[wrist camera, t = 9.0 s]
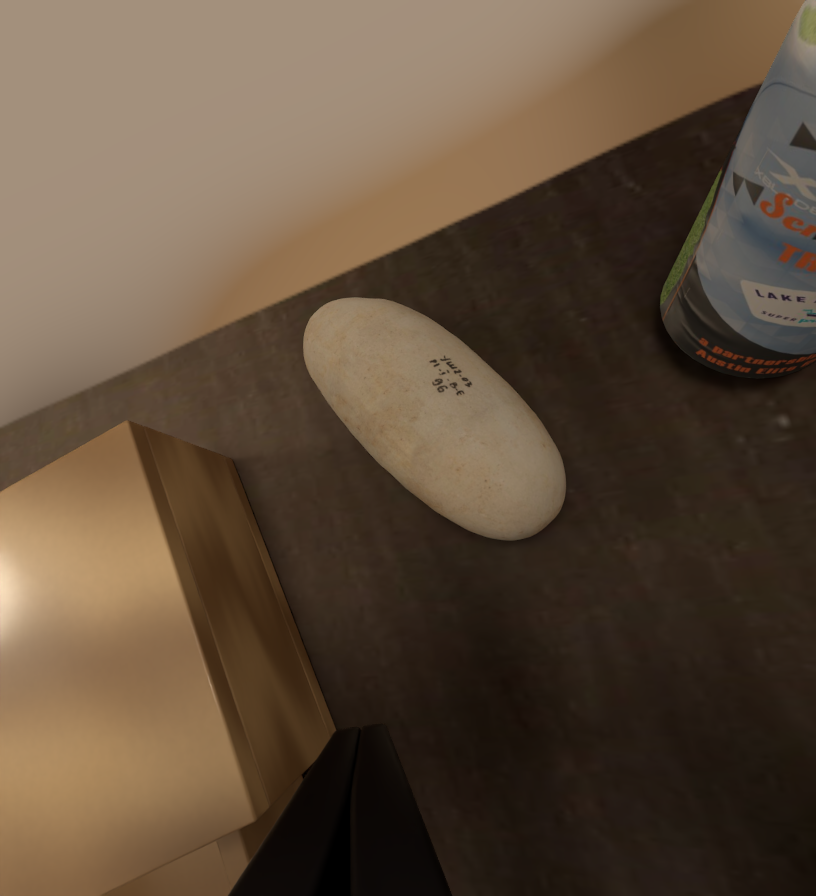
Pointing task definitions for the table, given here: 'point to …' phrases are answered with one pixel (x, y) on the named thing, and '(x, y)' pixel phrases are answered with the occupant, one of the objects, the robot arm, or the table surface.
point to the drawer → (210, 861)
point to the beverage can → (757, 233)
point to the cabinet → (140, 666)
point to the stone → (436, 417)
